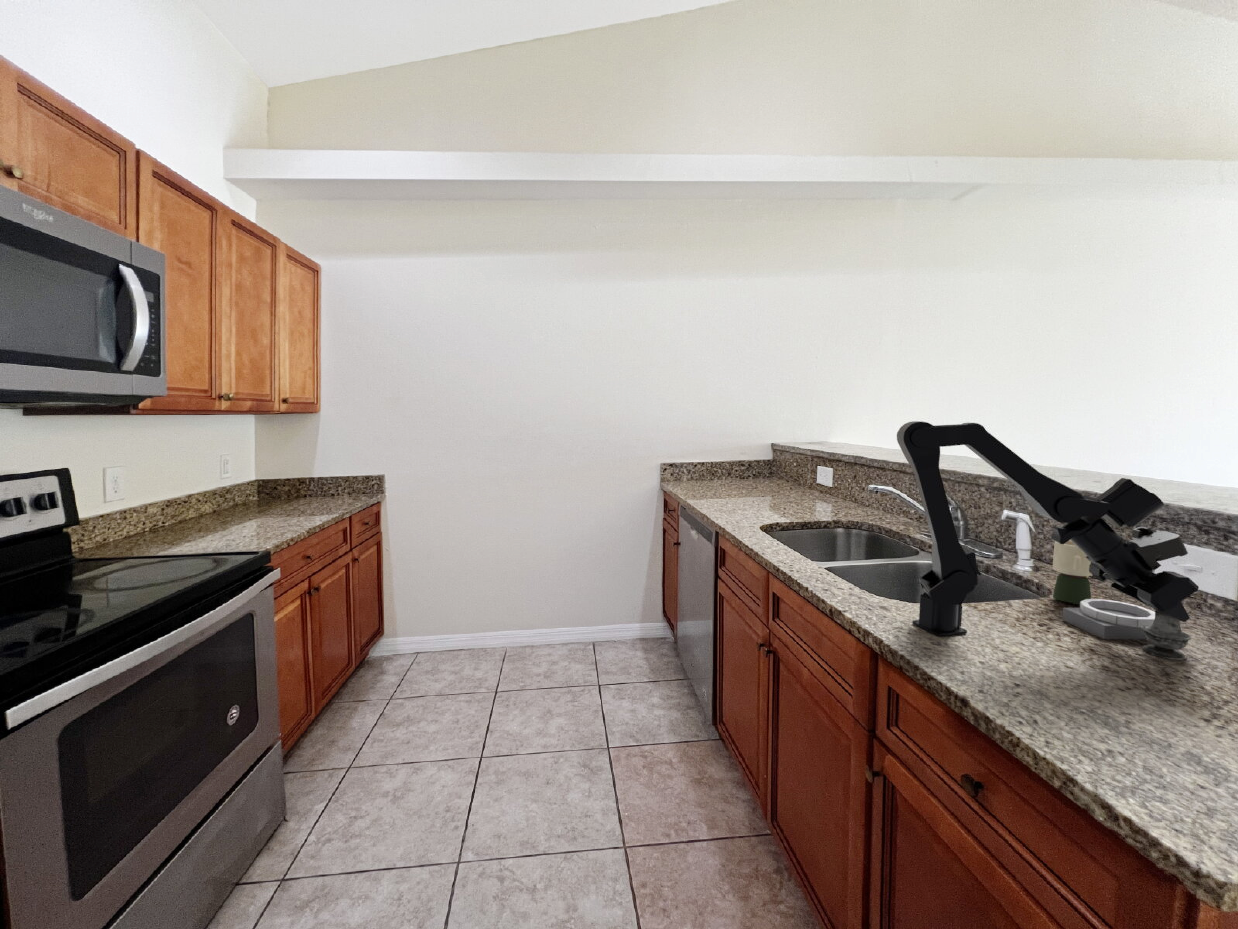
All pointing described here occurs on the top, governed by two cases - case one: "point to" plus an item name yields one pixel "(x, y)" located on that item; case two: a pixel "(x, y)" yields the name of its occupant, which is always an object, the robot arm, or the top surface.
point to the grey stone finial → (1165, 637)
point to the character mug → (1071, 573)
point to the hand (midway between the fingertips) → (1178, 615)
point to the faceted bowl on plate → (1110, 618)
